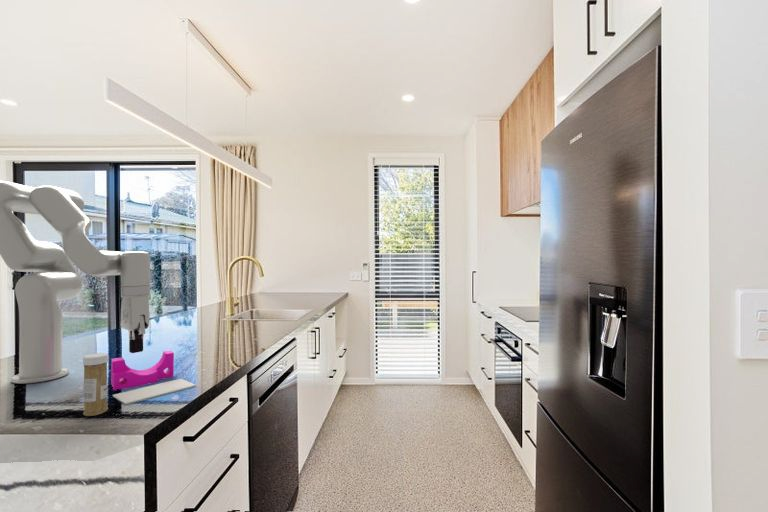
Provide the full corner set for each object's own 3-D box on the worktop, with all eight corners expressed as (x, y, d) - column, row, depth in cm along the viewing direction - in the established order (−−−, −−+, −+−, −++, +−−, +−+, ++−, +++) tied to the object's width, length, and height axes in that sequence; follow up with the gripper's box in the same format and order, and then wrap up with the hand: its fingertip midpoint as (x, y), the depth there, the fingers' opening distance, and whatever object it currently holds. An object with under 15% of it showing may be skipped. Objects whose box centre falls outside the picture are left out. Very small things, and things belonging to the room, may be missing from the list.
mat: (112, 396, 97) (112, 394, 97) (181, 379, 111) (181, 378, 111) (125, 404, 92) (125, 403, 92) (195, 386, 105) (195, 384, 105)
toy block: (113, 391, 102) (113, 363, 102) (111, 385, 106) (111, 358, 106) (175, 379, 112) (175, 354, 112) (170, 374, 116) (170, 350, 116)
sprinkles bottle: (111, 411, 88) (112, 353, 88) (88, 418, 84) (89, 358, 84) (101, 407, 90) (101, 351, 90) (78, 414, 86) (79, 355, 86)
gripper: (112, 291, 116) (113, 351, 116) (130, 293, 107) (131, 358, 107) (140, 289, 122) (140, 346, 122) (159, 291, 113) (159, 353, 113)
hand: (136, 351), depth 114 cm, fingers closed
